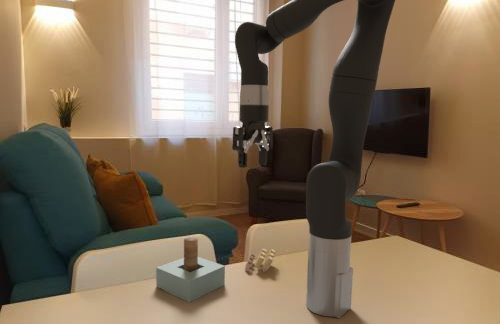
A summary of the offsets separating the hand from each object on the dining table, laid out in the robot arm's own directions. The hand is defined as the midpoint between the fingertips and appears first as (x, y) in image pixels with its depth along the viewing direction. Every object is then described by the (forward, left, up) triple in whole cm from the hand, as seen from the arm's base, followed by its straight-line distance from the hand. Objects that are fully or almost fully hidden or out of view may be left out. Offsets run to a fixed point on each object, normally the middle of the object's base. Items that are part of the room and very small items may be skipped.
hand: (253, 166), depth 99 cm
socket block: (+7, +16, -30) cm, 34 cm away
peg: (+7, +16, -30) cm, 34 cm away
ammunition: (+1, -5, -30) cm, 31 cm away
